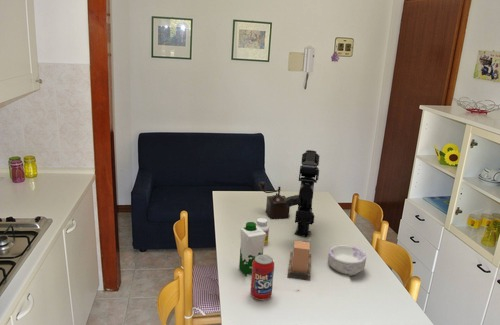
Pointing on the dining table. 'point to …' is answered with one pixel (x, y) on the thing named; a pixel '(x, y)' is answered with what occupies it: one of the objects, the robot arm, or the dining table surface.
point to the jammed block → (300, 257)
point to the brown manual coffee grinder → (276, 204)
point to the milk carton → (250, 246)
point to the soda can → (262, 277)
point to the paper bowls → (346, 259)
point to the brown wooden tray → (296, 274)
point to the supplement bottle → (263, 228)
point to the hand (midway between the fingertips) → (303, 224)
